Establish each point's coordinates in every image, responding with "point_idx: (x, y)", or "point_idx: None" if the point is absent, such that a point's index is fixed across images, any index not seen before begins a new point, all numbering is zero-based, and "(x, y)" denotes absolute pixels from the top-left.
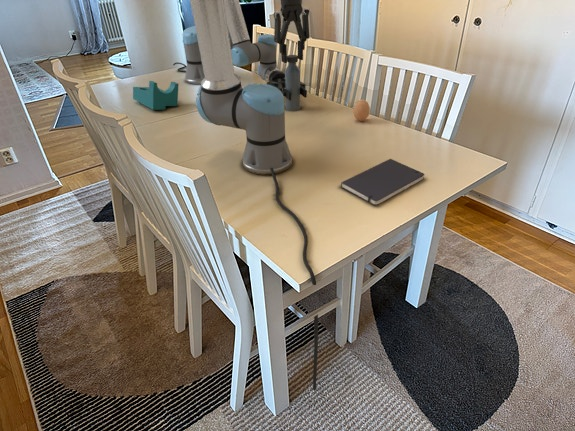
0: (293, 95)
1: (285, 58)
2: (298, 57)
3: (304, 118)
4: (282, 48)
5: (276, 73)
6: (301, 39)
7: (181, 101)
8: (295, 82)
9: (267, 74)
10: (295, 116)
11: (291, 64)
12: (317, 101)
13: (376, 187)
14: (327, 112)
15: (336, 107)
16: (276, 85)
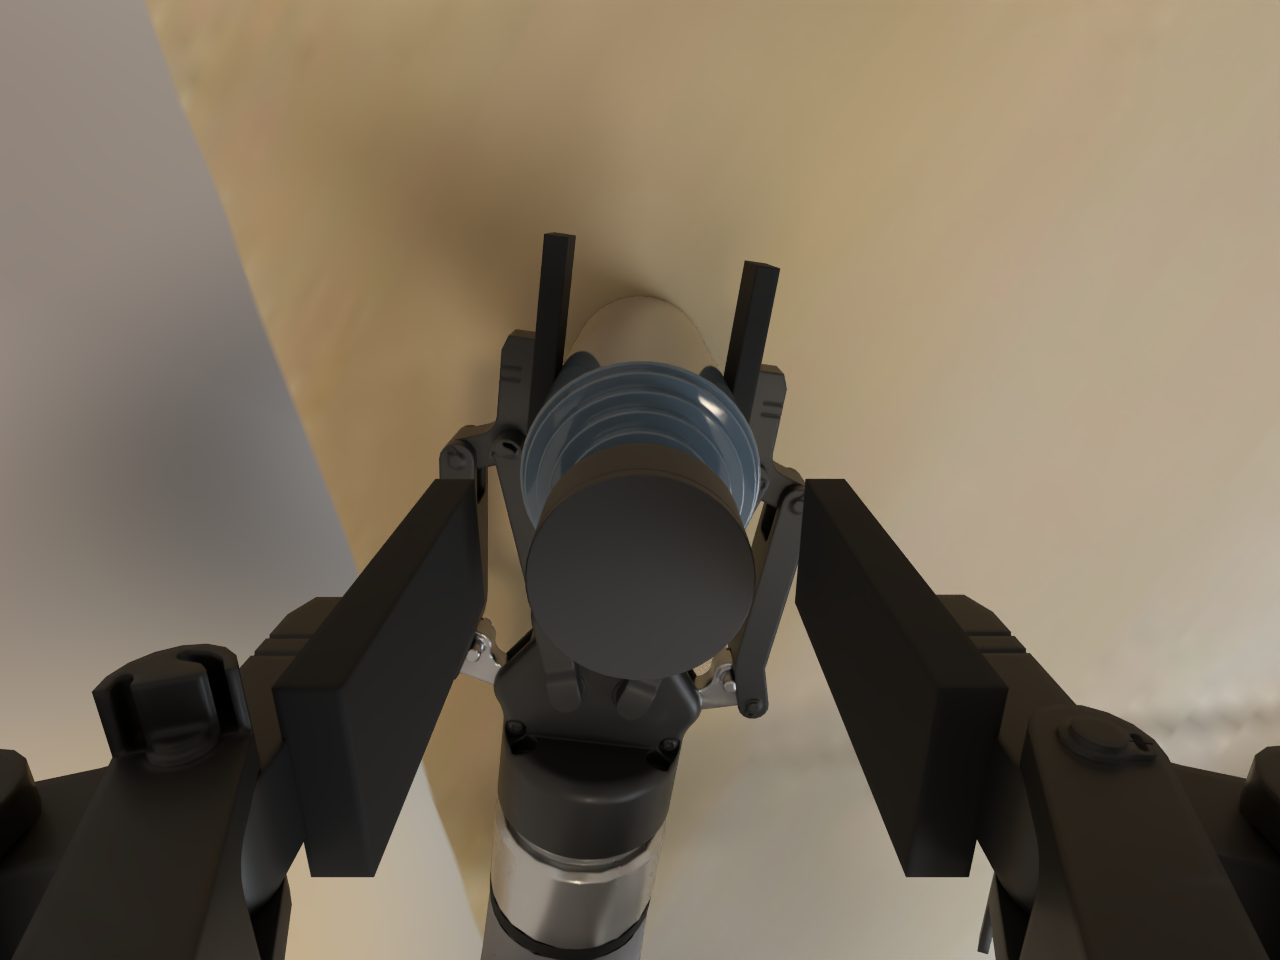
0: (678, 322)
1: (859, 514)
2: (476, 590)
3: (689, 65)
4: (1001, 663)
5: (621, 793)
6: (262, 809)
7: None
8: (658, 336)
9: (652, 872)
10: (732, 167)
11: None
12: (362, 382)
13: None
14: (411, 68)
15: (265, 136)
16: None
